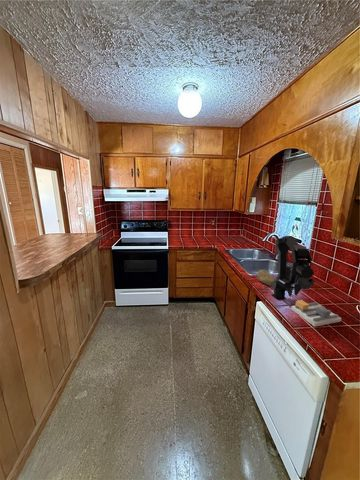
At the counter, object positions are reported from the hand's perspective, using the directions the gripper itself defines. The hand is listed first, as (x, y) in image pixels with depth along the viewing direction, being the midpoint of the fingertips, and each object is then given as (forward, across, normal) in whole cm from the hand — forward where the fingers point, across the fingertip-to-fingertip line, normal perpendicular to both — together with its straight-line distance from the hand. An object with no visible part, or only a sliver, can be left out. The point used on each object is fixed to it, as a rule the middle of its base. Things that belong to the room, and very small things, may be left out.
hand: (292, 295), depth 110 cm
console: (+12, +14, -4) cm, 19 cm away
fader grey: (+10, +14, -8) cm, 19 cm away
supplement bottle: (+12, +31, +37) cm, 50 cm away
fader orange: (+10, +8, 0) cm, 13 cm away
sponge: (+12, +14, +39) cm, 43 cm away
